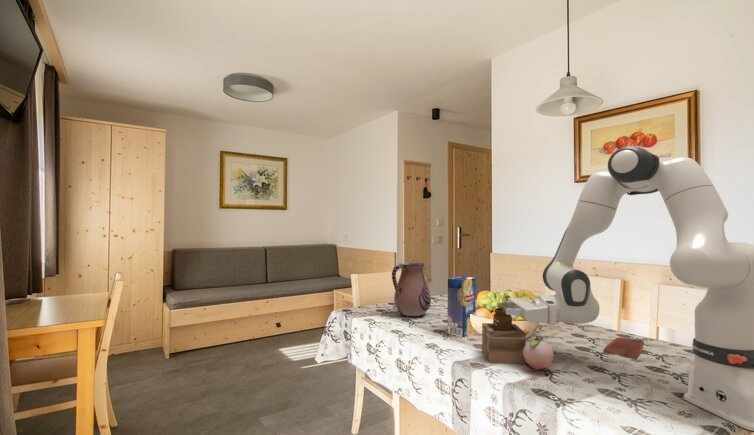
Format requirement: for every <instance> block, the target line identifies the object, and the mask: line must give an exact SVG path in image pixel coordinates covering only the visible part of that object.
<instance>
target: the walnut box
mask: <svg viewBox="0 0 754 435" xmlns="http://www.w3.org/2000/svg"><path fill="white" fill-rule="evenodd" d="M481 328H482V330H481V336H482V338H481V348H482V349H481V350H482V351H481V352H482V353H483V355H484V356H485V358H486V359H487V361H488V363H496V364H497V363H499V364H526V363H527V362H526V360H525V358H524V355H523V349H524V347H525V345H526V343H527V342H526V340H527V339H526V332H525V331H524V330H522V328H520V326H518V325H517V324H516V323H512V331H494V329H493V322H491V323H490V322H489V323H488V322H482V323H481Z"/></svg>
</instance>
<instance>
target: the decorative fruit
mask: <svg viewBox="0 0 754 435" xmlns="http://www.w3.org/2000/svg"><path fill="white" fill-rule="evenodd" d="M523 355H524V358H525V360H526V363H527V364H528V366H530V367H531V368H532V369H533V370H535V371H539V370H542V369H544V368H546V367H548V366H550V365H551V364H552V362H553V361H554V357H555V355H554V349H553V348H552V346H551V344H549V343H548V342H547V341H545V340H544V339H543V338H540V337H539V336H538V335H536V337H535V338H533V339H530V340H528V341H527V342H526V345H525V347H524V349H523Z"/></svg>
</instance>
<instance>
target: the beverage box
mask: <svg viewBox="0 0 754 435" xmlns="http://www.w3.org/2000/svg"><path fill="white" fill-rule="evenodd" d="M474 312H475V313H476V277H471V276H462V275H461V276H455V277H450V278H447V335H448V334H452V335H456V336H455V337H457V336H461V337H460V338H462V337H464V338H466V337H467V336H466V335H468V334H470V333H472V332H474V331H475V332H476V329H475V330H474V329H473V327H472V325H471V322H470V314H472V313H474ZM475 332H474V333H475ZM472 334H473V333H472ZM452 335H451V336H452ZM470 335H471V334H470ZM465 336H466V337H465ZM468 336H469V335H468Z"/></svg>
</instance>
